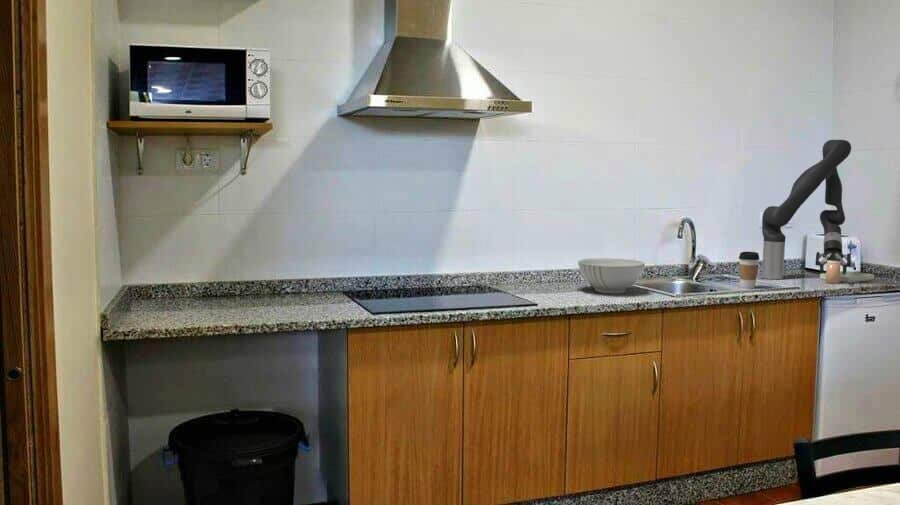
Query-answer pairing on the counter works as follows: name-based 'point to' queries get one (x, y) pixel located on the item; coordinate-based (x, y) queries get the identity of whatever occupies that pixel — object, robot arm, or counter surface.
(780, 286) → the counter surface
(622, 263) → the decorative bowl
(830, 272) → the tumbler
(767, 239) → the robot arm
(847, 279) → the tray
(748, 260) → the coffee cup
